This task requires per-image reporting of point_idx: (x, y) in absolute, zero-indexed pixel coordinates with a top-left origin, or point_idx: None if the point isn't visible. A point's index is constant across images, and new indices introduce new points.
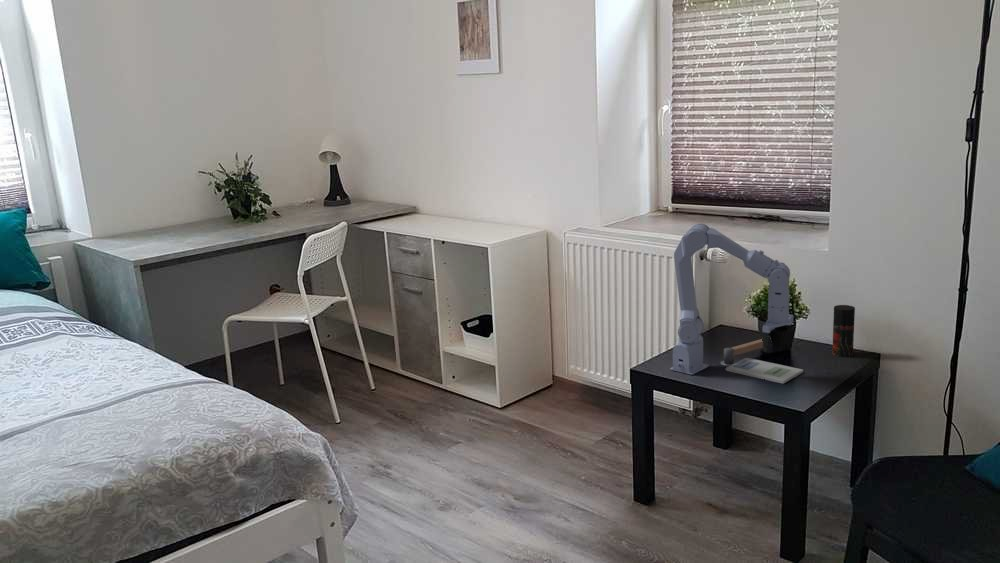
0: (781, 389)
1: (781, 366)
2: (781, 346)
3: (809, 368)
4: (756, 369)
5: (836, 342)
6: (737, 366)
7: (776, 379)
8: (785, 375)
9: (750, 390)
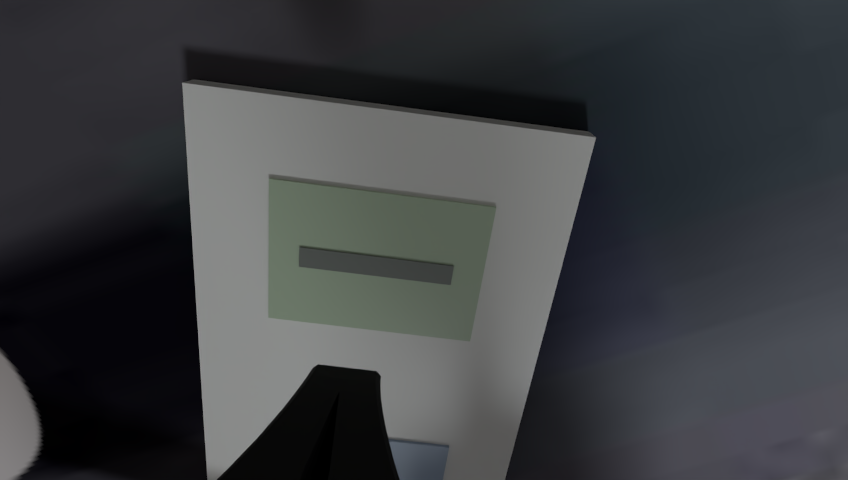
0: (739, 94)
1: (230, 278)
2: (360, 410)
3: (56, 61)
4: (411, 404)
5: None
6: None
7: (575, 204)
8: (432, 172)
9: (830, 299)
